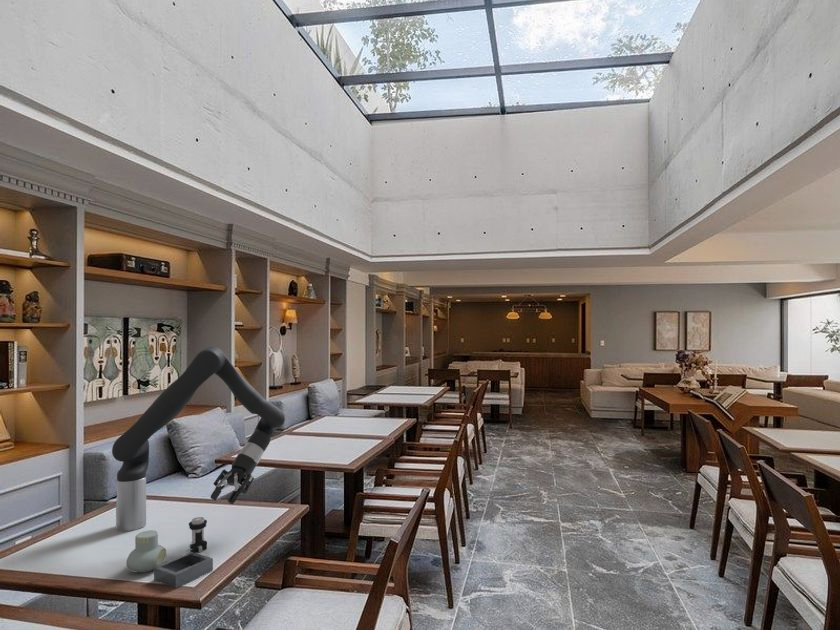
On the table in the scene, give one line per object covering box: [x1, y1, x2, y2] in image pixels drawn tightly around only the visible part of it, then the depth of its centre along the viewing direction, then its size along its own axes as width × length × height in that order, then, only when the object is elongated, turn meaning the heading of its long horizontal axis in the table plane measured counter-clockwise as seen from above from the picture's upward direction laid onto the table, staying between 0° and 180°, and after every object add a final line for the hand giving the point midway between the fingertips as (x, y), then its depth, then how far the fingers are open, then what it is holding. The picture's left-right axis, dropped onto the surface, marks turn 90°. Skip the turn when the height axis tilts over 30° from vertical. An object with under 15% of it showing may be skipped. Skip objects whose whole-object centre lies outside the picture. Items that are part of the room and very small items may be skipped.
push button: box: [185, 516, 208, 554], centre depth 163 cm, size 7×5×10 cm
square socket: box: [153, 551, 214, 589], centre depth 147 cm, size 10×12×4 cm
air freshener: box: [125, 530, 167, 573], centre depth 152 cm, size 11×8×10 cm
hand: (221, 501), depth 172 cm, fingers open, 8 cm apart
